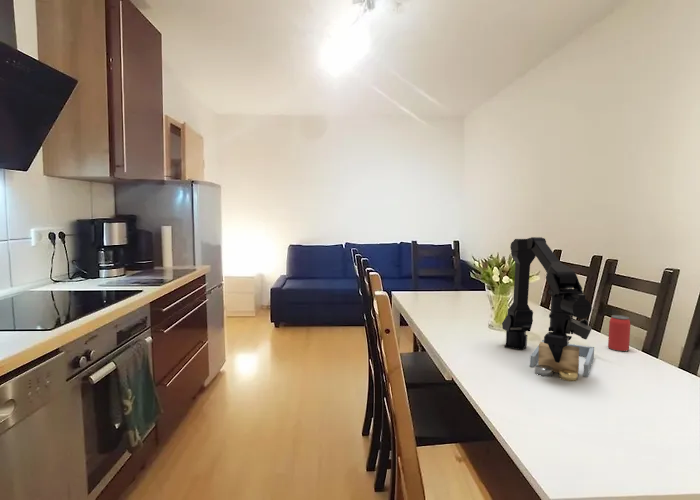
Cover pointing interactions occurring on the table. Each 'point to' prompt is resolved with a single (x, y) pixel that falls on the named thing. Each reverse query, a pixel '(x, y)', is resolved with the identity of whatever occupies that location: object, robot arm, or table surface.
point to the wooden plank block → (566, 362)
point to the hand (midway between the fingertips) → (558, 360)
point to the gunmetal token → (543, 370)
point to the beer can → (619, 333)
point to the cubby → (583, 351)
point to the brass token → (568, 375)
